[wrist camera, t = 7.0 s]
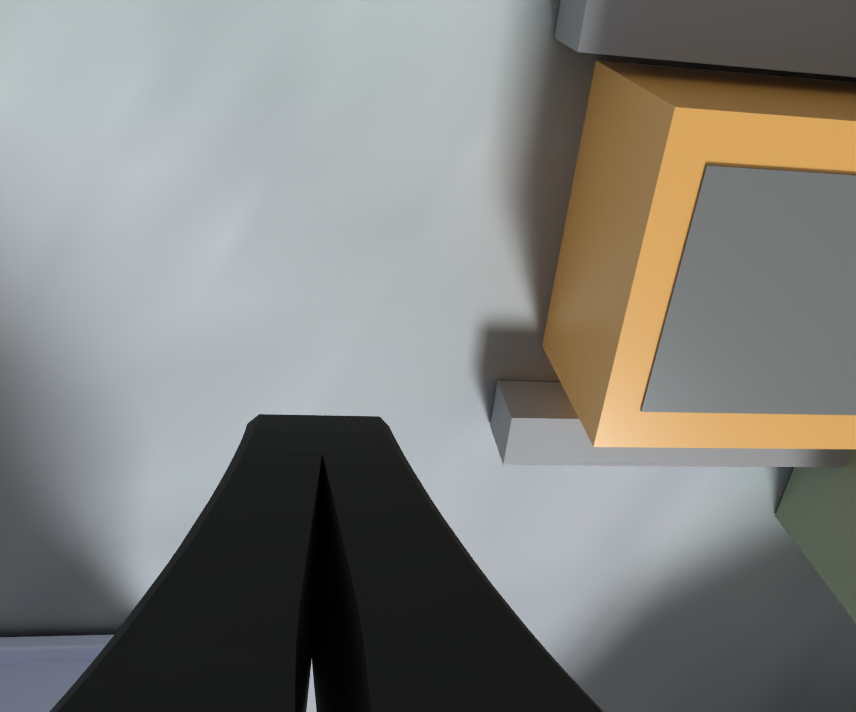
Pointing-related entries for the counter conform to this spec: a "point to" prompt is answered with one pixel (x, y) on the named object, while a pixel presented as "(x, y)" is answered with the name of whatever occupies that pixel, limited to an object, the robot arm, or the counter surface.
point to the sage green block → (807, 487)
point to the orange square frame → (710, 262)
